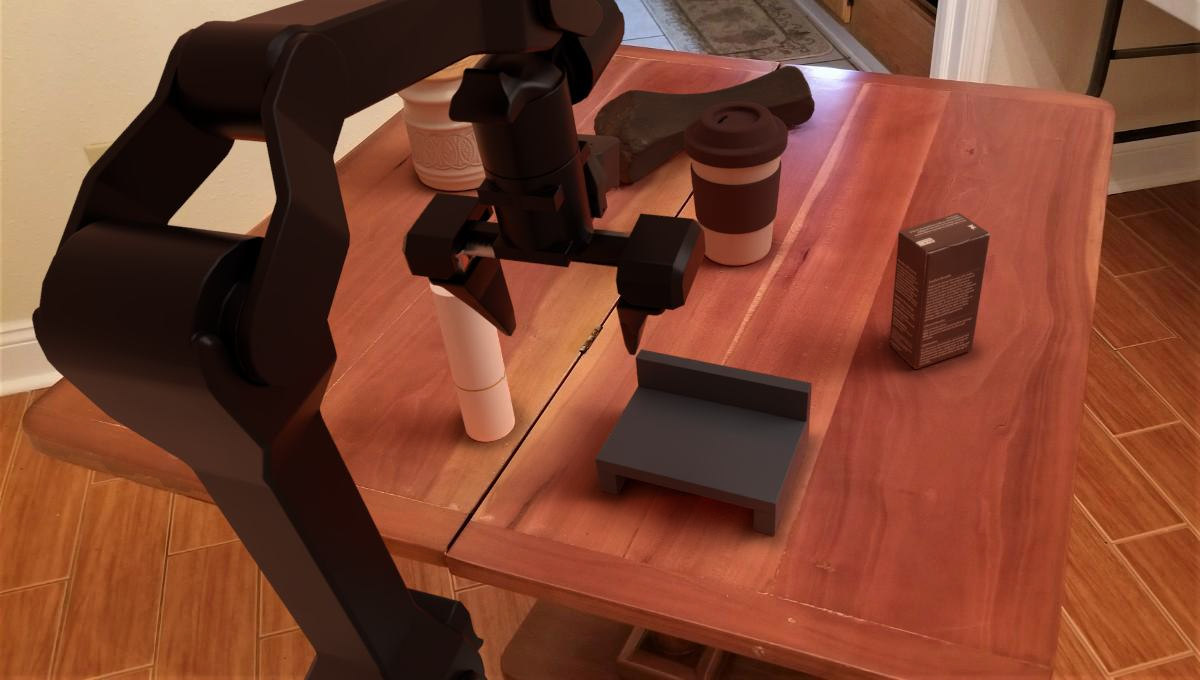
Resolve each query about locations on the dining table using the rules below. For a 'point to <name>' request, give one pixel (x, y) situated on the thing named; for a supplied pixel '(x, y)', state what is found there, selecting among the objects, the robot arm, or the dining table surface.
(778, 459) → the shelf
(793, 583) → the dining table surface
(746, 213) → the coffee cup
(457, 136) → the jar
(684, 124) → the dark brown bone
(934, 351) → the box
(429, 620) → the robot arm
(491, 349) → the tube
